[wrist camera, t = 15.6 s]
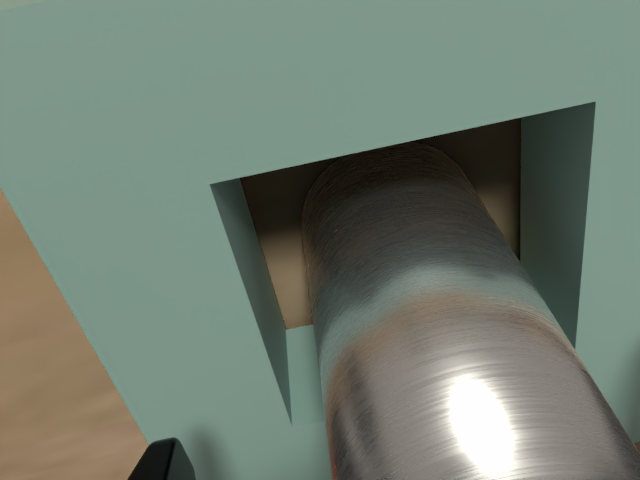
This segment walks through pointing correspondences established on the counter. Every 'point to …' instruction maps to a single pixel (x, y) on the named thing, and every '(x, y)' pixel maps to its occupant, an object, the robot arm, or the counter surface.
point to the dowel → (441, 336)
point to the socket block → (291, 150)
